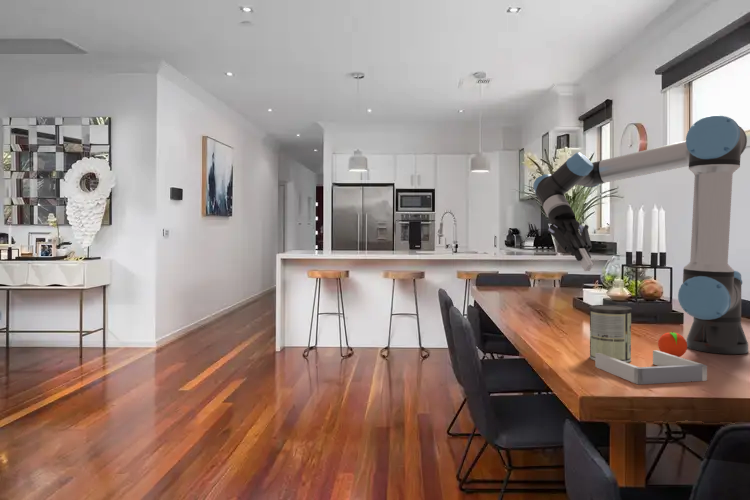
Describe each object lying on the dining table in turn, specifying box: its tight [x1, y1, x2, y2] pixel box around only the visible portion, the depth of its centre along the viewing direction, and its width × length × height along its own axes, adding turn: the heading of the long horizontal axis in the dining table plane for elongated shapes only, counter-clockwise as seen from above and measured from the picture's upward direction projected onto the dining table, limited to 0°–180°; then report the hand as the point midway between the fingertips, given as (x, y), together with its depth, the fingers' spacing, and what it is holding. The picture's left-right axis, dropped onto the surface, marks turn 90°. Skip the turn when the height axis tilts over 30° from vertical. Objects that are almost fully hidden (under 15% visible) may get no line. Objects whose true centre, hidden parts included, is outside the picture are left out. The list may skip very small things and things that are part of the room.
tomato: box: [657, 331, 688, 358], centre depth 141 cm, size 8×7×7 cm
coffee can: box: [589, 304, 633, 364], centre depth 140 cm, size 10×10×14 cm
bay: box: [594, 349, 708, 385], centre depth 125 cm, size 16×17×4 cm
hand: (589, 267), depth 149 cm, fingers closed
